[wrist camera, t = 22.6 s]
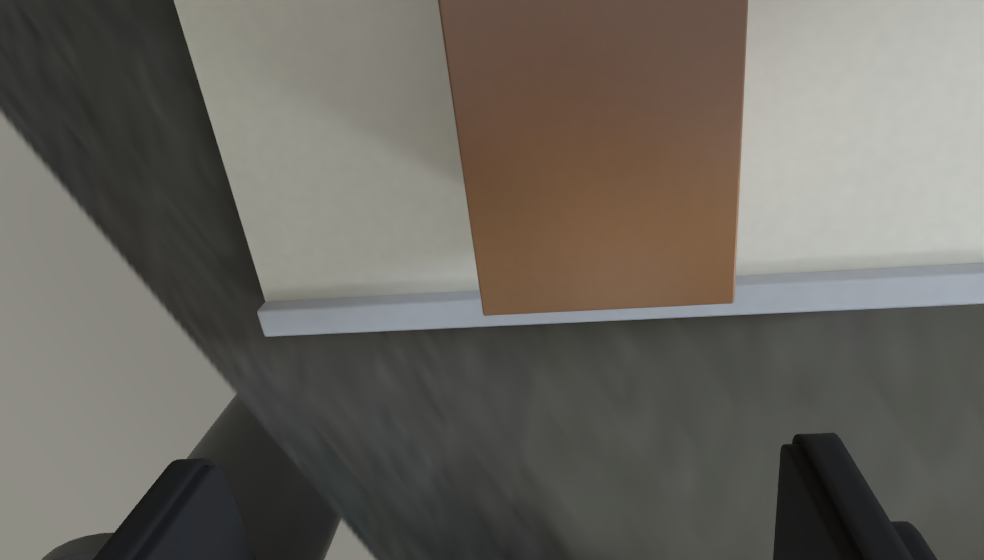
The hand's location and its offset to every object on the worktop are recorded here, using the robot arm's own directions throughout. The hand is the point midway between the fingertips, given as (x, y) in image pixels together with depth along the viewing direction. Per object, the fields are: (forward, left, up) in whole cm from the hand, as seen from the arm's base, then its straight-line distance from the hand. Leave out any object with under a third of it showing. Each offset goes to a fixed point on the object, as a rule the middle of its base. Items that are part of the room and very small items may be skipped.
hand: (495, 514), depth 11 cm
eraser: (+2, +7, -10) cm, 13 cm away
